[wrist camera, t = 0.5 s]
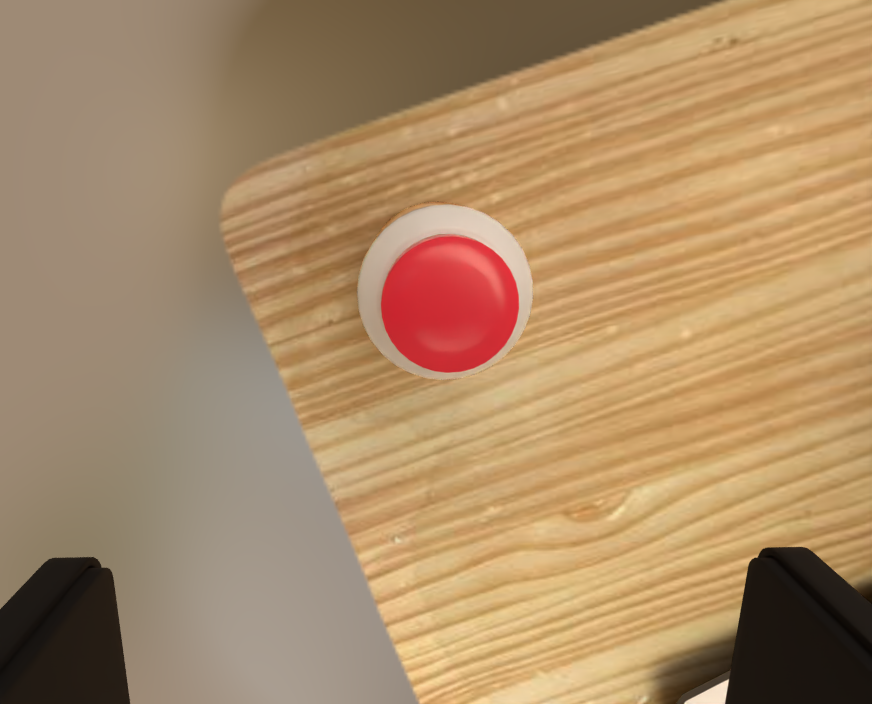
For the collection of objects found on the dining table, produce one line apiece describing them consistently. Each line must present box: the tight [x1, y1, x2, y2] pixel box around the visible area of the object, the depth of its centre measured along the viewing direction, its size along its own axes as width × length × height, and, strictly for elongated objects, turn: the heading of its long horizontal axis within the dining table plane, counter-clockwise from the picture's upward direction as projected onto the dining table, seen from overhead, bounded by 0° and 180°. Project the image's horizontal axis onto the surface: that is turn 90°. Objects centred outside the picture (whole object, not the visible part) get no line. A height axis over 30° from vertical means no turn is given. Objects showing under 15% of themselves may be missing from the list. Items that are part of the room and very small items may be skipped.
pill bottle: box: [357, 201, 533, 380], centre depth 22 cm, size 6×6×8 cm
